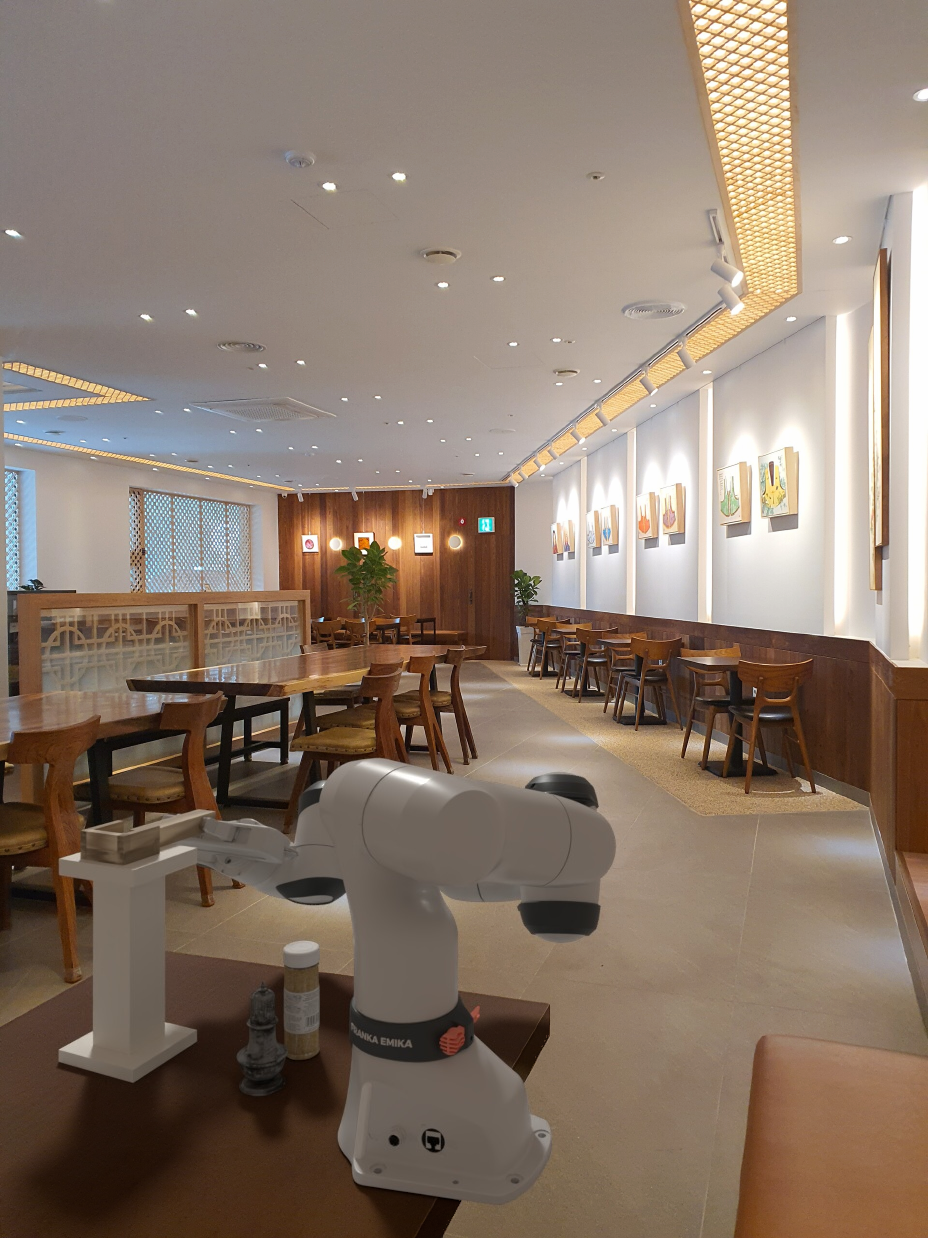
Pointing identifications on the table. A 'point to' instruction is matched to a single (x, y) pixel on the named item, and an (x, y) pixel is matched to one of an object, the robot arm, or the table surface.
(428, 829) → the robot arm
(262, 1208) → the table surface
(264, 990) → the dark tall tiered piece
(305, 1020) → the sprinkles bottle
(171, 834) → the scoop
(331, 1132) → the table surface
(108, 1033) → the pedestal shelf
